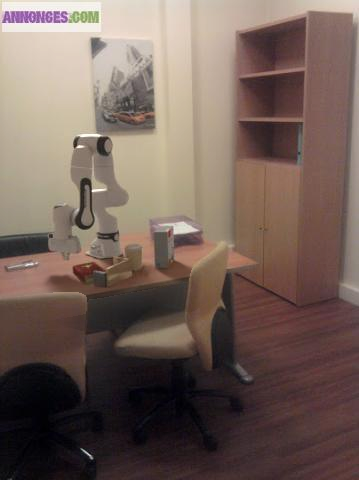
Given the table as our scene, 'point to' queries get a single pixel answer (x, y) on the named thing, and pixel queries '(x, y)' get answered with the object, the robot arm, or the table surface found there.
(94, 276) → the bookend
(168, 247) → the hard drive box
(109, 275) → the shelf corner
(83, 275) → the hardcover book
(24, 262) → the table surface
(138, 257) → the coffee cup
